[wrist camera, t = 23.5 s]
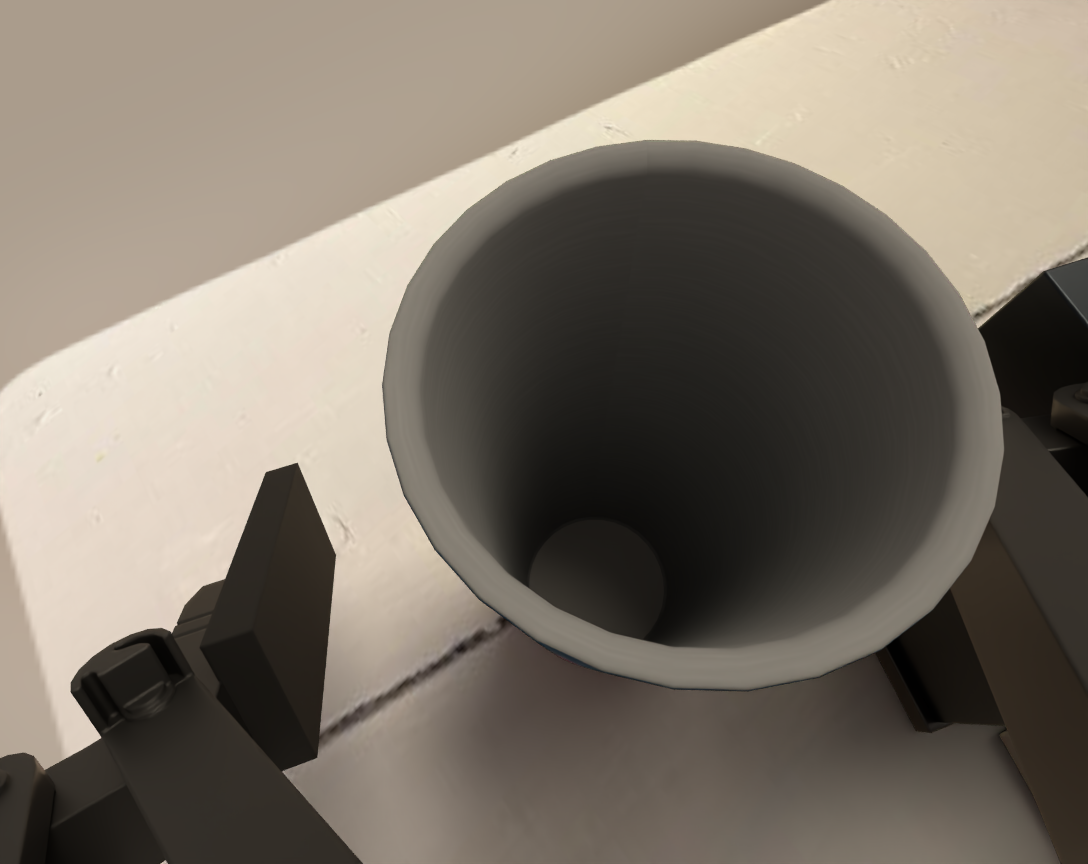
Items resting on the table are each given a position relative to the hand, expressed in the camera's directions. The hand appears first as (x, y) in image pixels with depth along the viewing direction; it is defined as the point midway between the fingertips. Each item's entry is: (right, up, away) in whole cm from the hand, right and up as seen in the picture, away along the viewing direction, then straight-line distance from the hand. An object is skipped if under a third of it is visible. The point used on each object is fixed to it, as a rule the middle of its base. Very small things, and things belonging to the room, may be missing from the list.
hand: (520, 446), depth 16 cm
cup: (+2, -5, +4) cm, 7 cm away
